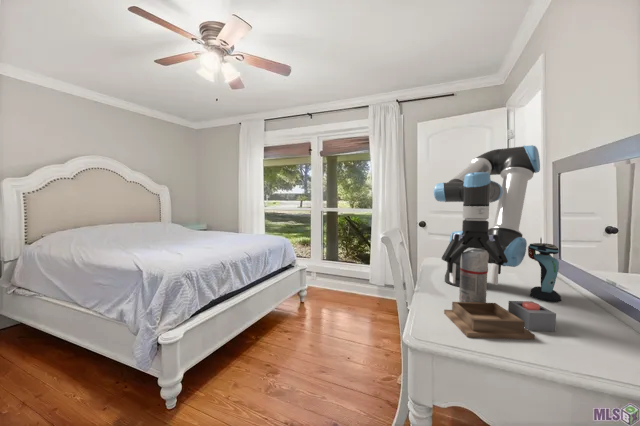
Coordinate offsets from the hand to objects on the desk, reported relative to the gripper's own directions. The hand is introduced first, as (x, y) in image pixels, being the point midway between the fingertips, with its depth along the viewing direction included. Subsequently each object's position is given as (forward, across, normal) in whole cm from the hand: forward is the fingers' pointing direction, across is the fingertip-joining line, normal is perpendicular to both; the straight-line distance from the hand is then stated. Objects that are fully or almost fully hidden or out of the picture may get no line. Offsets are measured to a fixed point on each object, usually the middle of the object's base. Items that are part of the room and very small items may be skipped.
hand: (473, 283), depth 90 cm
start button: (+5, +11, -11) cm, 16 cm away
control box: (+8, +11, -11) cm, 18 cm away
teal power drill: (+8, +32, +13) cm, 36 cm away
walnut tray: (+8, -3, -13) cm, 16 cm away
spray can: (+9, 0, 0) cm, 9 cm away
